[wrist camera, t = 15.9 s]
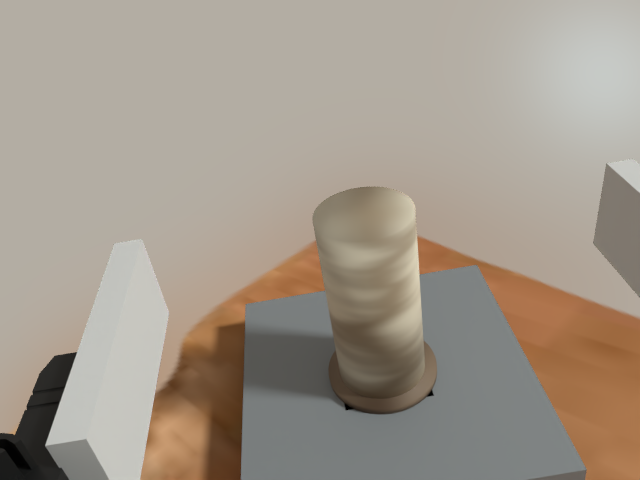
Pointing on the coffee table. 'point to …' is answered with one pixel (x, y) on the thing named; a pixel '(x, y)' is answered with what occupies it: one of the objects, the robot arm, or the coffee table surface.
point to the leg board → (409, 425)
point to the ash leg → (374, 300)
